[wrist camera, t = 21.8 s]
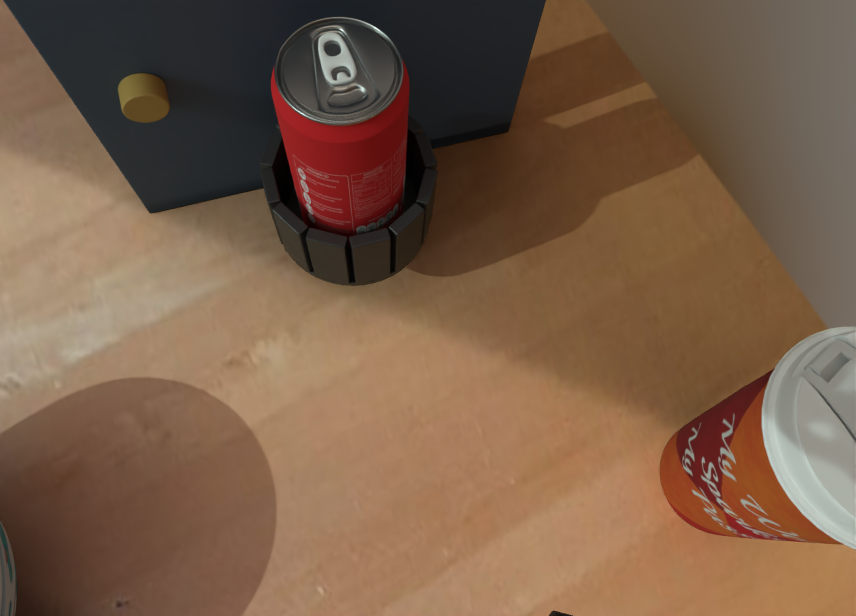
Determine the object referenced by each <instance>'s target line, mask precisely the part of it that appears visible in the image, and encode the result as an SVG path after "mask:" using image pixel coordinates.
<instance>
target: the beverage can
mask: <svg viewBox="0 0 856 616" xmlns="http://www.w3.org/2000/svg"><path fill="white" fill-rule="evenodd" d="M271 92H272V98H273V102H274V106H275V110H276V114H277V118H278V122H279V126H280V130H281V134H282V138H283V142H284V146H285V150H286V154H287V158H288V162H289V166H290V170H291V174H292V178H293V182H294V186H295V190H296V194H297V198H298V202H299V206H300V210H301V214H302V218H303V221H304V223H305V224H306V225H307V226H308V229H309V228H314V229H318V230H322V231H326V232H330V233H334V234H338V235H342V236H346V237H348V244H349V253H351V251H350V242H349V237H351V236H355V235H359V234H363V233H367V232H371V231H376V230H380V229H384V228H387V229H388V231H389V226H390V225H391V224H392V223H393V222H394V221H395V220H397V219H398V218H399V217H400V216H401V215H402V214H403V209H404V190H405V169H406V149H407V128H408V107H409V76H408V72H407V68H406V66H405V63H404V61H403V60H402V58H401V55H400V52H399V50H398V48H397V46H396V45H395V43H394V42H393V41H392V39H391V38H390V37H389V36H388V35H387V34H386V33H385V32H383V31H382V30H381V29H379V28H378V27H376V26H375V25H373V24H371V23H369V22H366V21H363V20H360V19H357V18H352V17H343V16H335V17H326V18H321V19H317V20H314V21H311V22H309V23H307V24H305V25H303V26H301V27H300V28H298V29H297V30H295V31H294V32H293V33H292V34H291V35H290V36H289V37H288V38H287V39H286V40H285V41H284V42H283V44H282V45H281V47H280V48H279V50H278V52H277V56H276V60H275V65H274V68H273V72H272V78H271Z"/></svg>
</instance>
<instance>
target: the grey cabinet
mask: <svg viewBox="0 0 856 616" xmlns="http://www.w3.org/2000/svg"><path fill="white" fill-rule="evenodd" d="M3 1H4V2H5V3H6V5H7V6H8V8H9V9H10V11H11V12H12V14H13V15H14V17H15V18H16V19H17V21H18V22H19V24H20V25H21V27H22V28H23V30H24V31H25V33H26V34H27V35H28V37H29V38H30V40H31V41H32V43H33V44H34V46H35V47H36V49H37V50H38V51H39V53H40V54H41V56H42V57H43V59H44V60H45V62H46V63H47V65H48V66H49V67H50V69H51V70H52V72H53V73H54V75H55V76H56V78H57V79H58V81H59V82H60V83H61V85H62V86H63V88H64V89H65V91H66V92H67V94H68V95H69V96H70V98H71V99H72V101H73V102H74V104H75V105H76V107H77V108H78V110H79V111H80V112H81V114H82V115H83V117H84V118H85V120H86V121H87V123H88V124H89V126H90V127H91V128H92V130H93V131H94V133H95V134H96V136H97V137H98V139H99V140H100V142H101V143H102V144H103V146H104V147H105V149H106V150H107V152H108V153H109V155H110V156H111V158H112V159H113V160H114V162H115V163H116V165H117V166H118V168H119V169H120V171H121V172H122V174H123V175H124V176H125V178H126V179H127V181H128V182H129V184H130V185H131V187H132V188H133V189H134V191H135V192H136V194H137V195H138V197H139V198H140V200H141V201H142V203H143V204H144V206H145V207H146V208H147V210H148V211H149V213H155V212H159V211H163V210H168V209H172V208H177V207H181V206H185V205H190V204H194V203H198V202H203V201H207V200H211V199H216V198H220V197H225V196H229V195H233V194H238V193H242V192H246V191H251V190H255V189H259V188H264V191H265V195H266V199H267V203H268V206H269V209H270V212H271V215H272V218H273V221H274V224H275V227H276V229H277V232H278V235H279V238H280V241H281V244H283V245H284V248H285V251H286V252H288V253H289V255H290V256H291V258H292V259H293V260H294V261H295V262H296V263H297V264H298V265H299V266H300V267H301V268H303V269H304V270H305V271H307V272H308V273H310V274H311V275H313V276H315V277H317V278H319V279H321V280H324V281H327V282H330V283H334V284H339V285H350V286H356V285H366V284H371V283H375V282H379V281H382V280H384V279H386V278H389V277H391V276H393V275H394V274H396V273H398V272H399V271H401V270H402V269H403V268H404V267H406V266H407V265H408V264H409V263H410V262H411V261H412V260H413V259H414V258H415V256H416V255H417V253H418V252H419V251H420V249H421V247H422V245H423V244H424V242H425V239H426V236H427V233H428V228H429V224H430V220H431V216H432V209H433V202H434V194H435V187H436V179H437V171H436V169H437V162H436V159H435V156H434V153H433V150H432V149H434V148H438V147H443V146H447V145H451V144H456V143H460V142H465V141H469V140H473V139H478V138H482V137H486V136H491V135H495V134H499V133H504V132H508V131H509V128H510V124H511V120H512V117H513V113H514V110H515V106H516V103H517V99H518V96H519V92H520V89H521V85H522V82H523V78H524V75H525V71H526V68H527V64H528V61H529V57H530V54H531V50H532V47H533V43H534V40H535V36H536V33H537V29H538V26H539V22H540V19H541V15H542V12H543V8H544V5H545V1H546V0H3ZM335 16H343V17H352V18H357V19H360V20H363V21H366V22H369V23H371V24H373V25H375V26H376V27H378V28H379V29H381V30H382V31H383V32H385V33H386V34H387V35H388V36H389V37H390V38H391V39H392V41H393V42H394V43H395V45H396V46H397V48H398V50H399V52H400V55H401V58H402V60H403V61H404V63H405V66H406V68H407V72H408V76H409V107H408V128H407V149H406V169H405V190H404V209H403V214H402V215H401V216H400V217H399V218H398V219H397V220H395V221H394V222H393V223H392V224H391V225H390V226H389V231H388V229H387V228H384V229H380V230H376V231H371V232H367V233H363V234H359V235H355V236H351V237H349V242H350V251H351V253H349V244H348V237H346V236H342V235H338V234H334V233H330V232H326V231H322V230H318V229H314V228H309V229H308V226H307V225H306V224H305V223H304V221H303V218H302V214H301V210H300V206H299V202H298V198H297V194H296V190H295V186H294V182H293V178H292V174H291V170H290V166H289V162H288V158H287V154H286V150H285V146H284V142H283V138H282V134H281V130H280V126H279V122H278V118H277V114H276V110H275V106H274V102H273V98H272V92H271V78H272V72H273V68H274V65H275V60H276V56H277V52H278V50H279V48H280V47H281V45H282V44H283V42H284V41H285V40H286V39H287V38H288V37H289V36H290V35H291V34H292V33H293V32H294V31H295V30H297V29H298V28H300V27H301V26H303V25H305V24H307V23H309V22H311V21H314V20H317V19H321V18H326V17H335Z"/></svg>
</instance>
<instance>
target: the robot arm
mask: <svg viewBox="0 0 856 616" xmlns="http://www.w3.org/2000/svg"><path fill="white" fill-rule="evenodd" d="M549 616H572V615H568V614H565V613H561V612H557V611H552V612H551V613H550V615H549Z"/></svg>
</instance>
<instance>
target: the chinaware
mask: <svg viewBox="0 0 856 616" xmlns="http://www.w3.org/2000/svg"><path fill="white" fill-rule="evenodd" d="M16 601H17V578H16V568H15V562H14V557H13V553H12V549H11V545H10V542H9V539H8V536H7V534H6V531H5V529H4V527H3V525H2V522H1V520H0V616H15V611H16Z"/></svg>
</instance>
